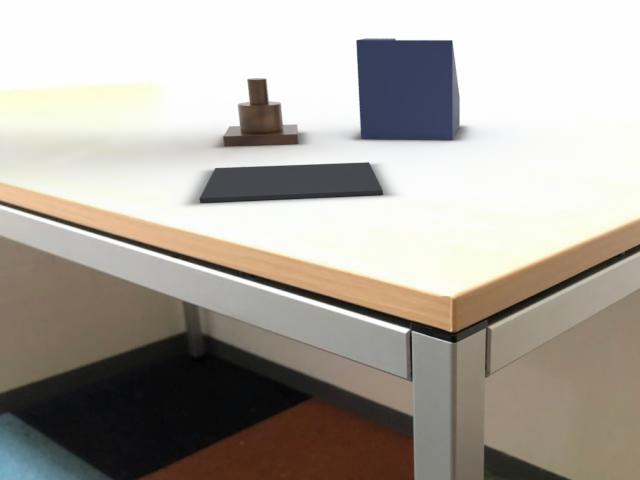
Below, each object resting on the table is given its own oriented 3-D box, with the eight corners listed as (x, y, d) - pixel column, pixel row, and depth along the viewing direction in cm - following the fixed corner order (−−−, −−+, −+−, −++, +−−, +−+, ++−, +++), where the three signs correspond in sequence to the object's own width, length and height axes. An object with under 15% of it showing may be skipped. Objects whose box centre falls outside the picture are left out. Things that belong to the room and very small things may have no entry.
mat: (200, 202, 65) (199, 198, 65) (215, 171, 78) (215, 167, 77) (383, 194, 68) (382, 190, 67) (369, 165, 80) (369, 162, 80)
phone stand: (459, 126, 107) (459, 37, 102) (452, 139, 96) (452, 40, 91) (377, 125, 108) (373, 36, 103) (361, 138, 97) (356, 40, 92)
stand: (224, 146, 92) (216, 82, 89) (230, 135, 100) (223, 76, 97) (298, 143, 94) (292, 81, 91) (297, 133, 102) (293, 75, 99)
